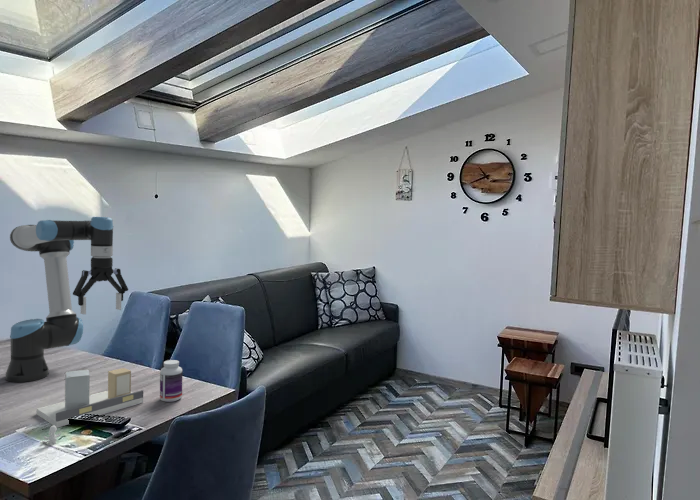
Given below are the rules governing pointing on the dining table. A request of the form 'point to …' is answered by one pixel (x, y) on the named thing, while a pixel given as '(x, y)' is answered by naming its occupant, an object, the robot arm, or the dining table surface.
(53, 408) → the shelf
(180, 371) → the pill bottle
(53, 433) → the figurine
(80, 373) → the supplement box
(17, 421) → the dining table surface
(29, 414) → the dining table surface
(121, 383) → the carton
